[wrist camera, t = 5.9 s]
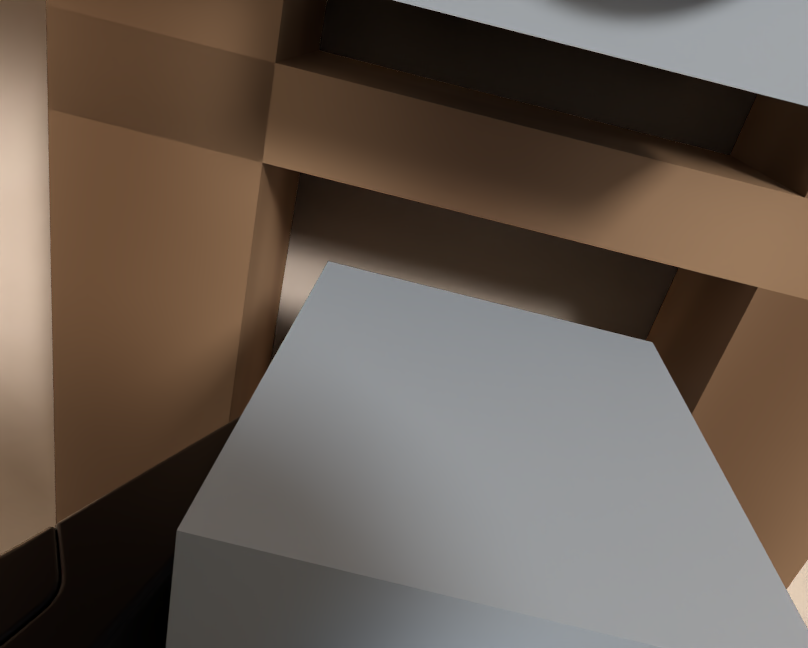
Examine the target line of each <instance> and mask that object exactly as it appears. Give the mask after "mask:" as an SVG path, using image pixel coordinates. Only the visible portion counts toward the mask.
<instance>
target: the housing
mask: <svg viewBox="0 0 808 648" xmlns="http://www.w3.org/2000/svg"><path fill="white" fill-rule="evenodd" d="M326 4H327V0H46V31H47V83H48V134H49V185H50V236H51V288H52V339H53V390H54V442H55V493H56V524H57V523H58V522H59V521H61V520H63V519H65V518H66V517H68V516H70V515H71V514H73V513H75V512H77V511H78V510H80V509H82V508H83V507H85V506H87V505H89V504H90V503H92V502H94V501H95V500H97V499H99V498H101V497H102V496H104V495H106V494H107V493H109V492H111V491H113V490H114V489H116V488H118V487H119V486H121V485H123V484H124V483H126V482H128V481H130V480H131V479H133V478H135V477H136V476H138V475H140V474H142V473H143V472H145V471H147V470H148V469H150V468H152V467H154V466H155V465H157V464H159V463H160V462H162V461H164V460H166V459H167V458H169V457H171V456H172V455H174V454H176V453H177V452H179V451H181V450H183V449H184V448H186V447H188V446H189V445H191V444H193V443H195V442H196V441H198V440H200V439H201V438H203V437H205V436H207V435H208V434H210V433H212V432H213V431H215V430H217V429H219V428H220V427H222V426H224V425H225V424H227V423H229V422H231V421H232V420H234V419H236V418H237V417H239V416H241V415H242V413H243V412H244V410H245V408H246V406H247V405H248V403H249V401H250V399H251V397H252V396H253V394H254V392H255V390H256V389H257V387H258V385H259V383H260V381H261V380H262V378H263V376H264V374H265V372H266V371H267V369H268V367H269V365H270V360H271V354H272V348H273V341H274V335H275V329H276V322H277V316H278V310H279V303H280V297H281V290H282V284H283V278H284V271H285V265H286V259H287V252H288V246H289V239H290V233H291V227H292V220H293V214H294V208H295V201H296V195H297V188H298V182H299V176H300V172H301V173H305V174H309V175H313V176H317V177H321V178H325V179H329V180H333V181H337V182H341V183H345V184H349V185H353V186H357V187H361V188H365V189H369V190H373V191H377V192H381V193H385V194H389V195H393V196H397V197H401V198H405V199H409V200H413V201H417V202H421V203H425V204H429V205H433V206H437V207H441V208H445V209H449V210H453V211H457V212H461V213H465V214H469V215H473V216H477V217H481V218H485V219H489V220H493V221H496V222H500V223H504V224H508V225H512V226H516V227H520V228H524V229H528V230H532V231H536V232H540V233H544V234H548V235H552V236H556V237H560V238H564V239H568V240H572V241H576V242H580V243H584V244H588V245H592V246H596V247H600V248H604V249H608V250H612V251H616V252H620V253H624V254H628V255H632V256H636V257H640V258H644V259H648V260H652V261H656V262H660V263H664V264H668V265H672V266H676V267H679V268H678V271H677V273H676V275H675V277H674V279H673V282H672V284H671V286H670V288H669V290H668V293H667V295H666V297H665V299H664V302H663V304H662V306H661V308H660V310H659V313H658V315H657V317H656V319H655V321H654V324H653V326H652V328H651V330H650V332H649V335H648V337H647V339H646V341H649V342H653V344H654V346H655V348H656V350H657V351H658V353H659V355H660V357H661V359H662V361H663V363H664V364H665V366H666V368H667V370H668V372H669V374H670V376H671V377H672V379H673V381H674V383H675V385H676V387H677V388H678V390H679V392H680V394H681V396H682V398H683V400H684V401H685V403H686V405H687V407H688V409H689V411H690V412H691V414H692V416H693V418H694V420H695V422H696V424H697V425H698V427H699V429H700V431H701V433H702V435H703V437H704V438H705V440H706V442H707V444H708V446H709V448H710V449H711V451H712V453H713V455H714V457H715V459H716V461H717V462H718V464H719V466H720V468H721V470H722V472H723V473H724V475H725V477H726V479H727V481H728V483H729V485H730V486H731V488H732V490H733V492H734V494H735V496H736V498H737V499H738V501H739V503H740V505H741V507H742V509H743V510H744V512H745V514H746V516H747V518H748V520H749V522H750V523H751V525H752V527H753V529H754V531H755V533H756V534H757V536H758V538H759V540H760V542H761V544H762V546H763V547H764V549H765V551H766V553H767V555H768V557H769V559H770V560H771V562H772V564H773V566H774V568H775V570H776V571H777V573H778V575H779V577H780V579H781V581H782V583H783V584H784V586H785V588H786V589H787V588H788V586H789V585H790V584H791V582H792V581H793V579H794V578H795V577H796V575H797V574H798V572H799V571H800V569H801V568H802V567H803V565H804V564H805V562H806V561H807V560H808V106H804V105H800V104H797V103H793V102H789V101H785V100H781V99H777V98H773V97H769V96H765V95H761V94H757V97H756V99H755V101H754V103H753V105H752V108H751V110H750V112H749V114H748V116H747V119H746V121H745V123H744V125H743V127H742V130H741V132H740V134H739V136H738V138H737V141H736V143H735V145H734V147H733V150H732V152H731V154H730V155H728V154H724V153H720V152H716V151H712V150H708V149H704V148H700V147H696V146H692V145H688V144H685V143H681V142H677V141H673V140H669V139H665V138H661V137H657V136H653V135H649V134H645V133H641V132H637V131H634V130H630V129H626V128H622V127H618V126H614V125H610V124H606V123H602V122H598V121H594V120H590V119H587V118H583V117H579V116H575V115H571V114H567V113H563V112H559V111H555V110H551V109H547V108H543V107H539V106H536V105H532V104H528V103H524V102H520V101H516V100H512V99H508V98H504V97H500V96H496V95H492V94H489V93H485V92H481V91H477V90H473V89H469V88H465V87H461V86H457V85H453V84H449V83H445V82H441V81H438V80H434V79H430V78H426V77H422V76H418V75H414V74H410V73H406V72H402V71H398V70H394V69H391V68H387V67H383V66H379V65H375V64H371V63H367V62H363V61H359V60H355V59H351V58H347V57H343V56H340V55H336V54H332V53H328V52H324V51H320V50H319V48H320V42H321V36H322V29H323V23H324V16H325V10H326Z"/></svg>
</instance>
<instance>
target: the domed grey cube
mask: <svg viewBox="0 0 808 648" xmlns="http://www.w3.org/2000/svg"><path fill="white" fill-rule="evenodd" d="M166 648H808V629H807V627H806V625H805V623H804V621H803V620H802V618H801V616H800V614H799V612H798V610H797V608H796V607H795V605H794V603H793V601H792V599H791V597H790V595H789V594H788V592H787V590H786V588H785V586H784V584H783V583H782V581H781V579H780V577H779V575H778V573H777V571H776V570H775V568H774V566H773V564H772V562H771V560H770V559H769V557H768V555H767V553H766V551H765V549H764V547H763V546H762V544H761V542H760V540H759V538H758V536H757V534H756V533H755V531H754V529H753V527H752V525H751V523H750V522H749V520H748V518H747V516H746V514H745V512H744V510H743V509H742V507H741V505H740V503H739V501H738V499H737V498H736V496H735V494H734V492H733V490H732V488H731V486H730V485H729V483H728V481H727V479H726V477H725V475H724V473H723V472H722V470H721V468H720V466H719V464H718V462H717V461H716V459H715V457H714V455H713V453H712V451H711V449H710V448H709V446H708V444H707V442H706V440H705V438H704V437H703V435H702V433H701V431H700V429H699V427H698V425H697V424H696V422H695V420H694V418H693V416H692V414H691V412H690V411H689V409H688V407H687V405H686V403H685V401H684V400H683V398H682V396H681V394H680V392H679V390H678V388H677V387H676V385H675V383H674V381H673V379H672V377H671V376H670V374H669V372H668V370H667V368H666V366H665V364H664V363H663V361H662V359H661V357H660V355H659V353H658V351H657V350H656V348H655V346H654V344H653V342H649V341H645V340H641V339H637V338H633V337H629V336H625V335H621V334H617V333H613V332H609V331H605V330H601V329H597V328H593V327H589V326H585V325H581V324H577V323H573V322H569V321H565V320H561V319H557V318H553V317H549V316H545V315H541V314H537V313H533V312H529V311H525V310H521V309H517V308H513V307H509V306H505V305H501V304H497V303H493V302H489V301H485V300H481V299H477V298H473V297H469V296H465V295H461V294H457V293H453V292H450V291H446V290H442V289H438V288H434V287H430V286H426V285H422V284H418V283H414V282H410V281H406V280H402V279H398V278H394V277H390V276H386V275H382V274H378V273H374V272H370V271H366V270H362V269H358V268H354V267H350V266H346V265H342V264H338V263H334V262H330V261H328V262H327V264H326V266H325V268H324V269H323V271H322V273H321V275H320V276H319V278H318V280H317V282H316V284H315V285H314V287H313V289H312V291H311V292H310V294H309V296H308V298H307V300H306V301H305V303H304V305H303V307H302V308H301V310H300V312H299V314H298V316H297V317H296V319H295V321H294V323H293V324H292V326H291V328H290V330H289V332H288V333H287V335H286V337H285V339H284V340H283V342H282V344H281V346H280V348H279V349H278V351H277V353H276V355H275V356H274V358H273V360H272V362H271V364H270V365H269V367H268V369H267V371H266V372H265V374H264V376H263V378H262V380H261V381H260V383H259V385H258V387H257V389H256V390H255V392H254V394H253V396H252V397H251V399H250V401H249V403H248V405H247V406H246V408H245V410H244V412H243V413H242V415H241V417H240V419H239V421H238V422H237V424H236V426H235V428H234V429H233V431H232V433H231V435H230V437H229V438H228V440H227V442H226V444H225V445H224V447H223V449H222V451H221V453H220V454H219V456H218V458H217V460H216V461H215V463H214V465H213V467H212V469H211V470H210V472H209V474H208V476H207V477H206V479H205V481H204V483H203V485H202V486H201V488H200V490H199V492H198V493H197V495H196V497H195V499H194V501H193V502H192V504H191V506H190V508H189V509H188V511H187V513H186V515H185V517H184V518H183V520H182V522H181V524H180V525H179V527H178V529H177V533H176V543H175V554H174V565H173V575H172V586H171V596H170V607H169V618H168V628H167V639H166Z"/></svg>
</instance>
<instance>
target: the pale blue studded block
mask: <svg viewBox="0 0 808 648" xmlns="http://www.w3.org/2000/svg"><path fill="white" fill-rule="evenodd" d="M394 1H398V2H402V3H406V4H410V5H414V6H418V7H421V8H425V9H429V10H433V11H437V12H441V13H445V14H449V15H453V16H457V17H461V18H464V19H468V20H472V21H476V22H480V23H484V24H488V25H492V26H496V27H500V28H504V29H507V30H511V31H515V32H519V33H523V34H527V35H531V36H535V37H539V38H543V39H547V40H550V41H554V42H558V43H562V44H566V45H570V46H574V47H578V48H582V49H586V50H589V51H593V52H597V53H601V54H605V55H609V56H613V57H617V58H621V59H625V60H629V61H632V62H636V63H640V64H644V65H648V66H652V67H656V68H660V69H664V70H668V71H672V72H675V73H679V74H683V75H687V76H691V77H695V78H699V79H703V80H707V81H711V82H715V83H718V84H722V85H726V86H730V87H734V88H738V89H742V90H746V91H750V92H754V93H758V94H761V95H765V96H769V97H773V98H777V99H781V100H785V101H789V102H793V103H797V104H800V105H804V106H808V0H394Z"/></svg>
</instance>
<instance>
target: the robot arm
mask: <svg viewBox="0 0 808 648" xmlns="http://www.w3.org/2000/svg"><path fill="white" fill-rule="evenodd" d="M240 417H241V416H239V417H237V418H236V419H234V420H232V421H231V422H229V423H227V424H225V425H224V426H222V427H220V428H219V429H217V430H215V431H213V432H212V433H210V434H208V435H207V436H205V437H203V438H201V439H200V440H198V441H196V442H195V443H193V444H191V445H189V446H188V447H186V448H184V449H183V450H181V451H179V452H177V453H176V454H174V455H172V456H171V457H169V458H167V459H166V460H164V461H162V462H160V463H159V464H157V465H155V466H154V467H152V468H150V469H148V470H147V471H145V472H143V473H142V474H140V475H138V476H136V477H135V478H133V479H131V480H130V481H128V482H126V483H124V484H123V485H121V486H119V487H118V488H116V489H114V490H113V491H111V492H109V493H107V494H106V495H104V496H102V497H101V498H99V499H97V500H95V501H94V502H92V503H90V504H89V505H87V506H85V507H83V508H82V509H80V510H78V511H77V512H75V513H73V514H71V515H70V516H68V517H66V518H65V519H63V520H61V521H59V522H58V523H57V524H56V526H55V528H53V527H49V528H47V529H45V530H44V531H42V532H40V533H38V534H37V535H35V536H33V537H32V538H30V539H28V540H26V541H25V542H23V543H21V544H20V545H18V546H16V547H14V548H12V549H11V550H9V551H7V552H5V553H3V554H2V555H0V648H166V639H167V628H168V618H169V607H170V596H171V586H172V575H173V565H174V554H175V543H176V533H177V529H178V527H179V525H180V524H181V522H182V520H183V518H184V517H185V515H186V513H187V511H188V509H189V508H190V506H191V504H192V502H193V501H194V499H195V497H196V495H197V493H198V492H199V490H200V488H201V486H202V485H203V483H204V481H205V479H206V477H207V476H208V474H209V472H210V470H211V469H212V467H213V465H214V463H215V461H216V460H217V458H218V456H219V454H220V453H221V451H222V449H223V447H224V445H225V444H226V442H227V440H228V438H229V437H230V435H231V433H232V431H233V429H234V428H235V426H236V424H237V422H238V421H239V419H240Z"/></svg>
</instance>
